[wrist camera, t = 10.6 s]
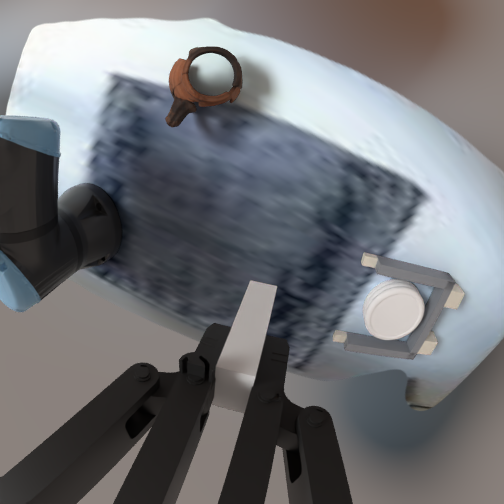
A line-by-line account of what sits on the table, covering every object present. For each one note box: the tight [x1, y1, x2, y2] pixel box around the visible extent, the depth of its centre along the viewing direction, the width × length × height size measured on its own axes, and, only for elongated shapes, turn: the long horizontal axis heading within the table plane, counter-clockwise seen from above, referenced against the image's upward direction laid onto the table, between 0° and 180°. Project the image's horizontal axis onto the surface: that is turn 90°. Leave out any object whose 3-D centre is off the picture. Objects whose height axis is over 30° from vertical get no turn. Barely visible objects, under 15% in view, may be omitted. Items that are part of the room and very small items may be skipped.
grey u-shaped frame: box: [333, 252, 465, 360], centre depth 40 cm, size 18×16×3 cm
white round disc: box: [363, 279, 425, 340], centre depth 40 cm, size 10×10×4 cm
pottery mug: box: [165, 47, 242, 127], centre depth 32 cm, size 12×10×8 cm
